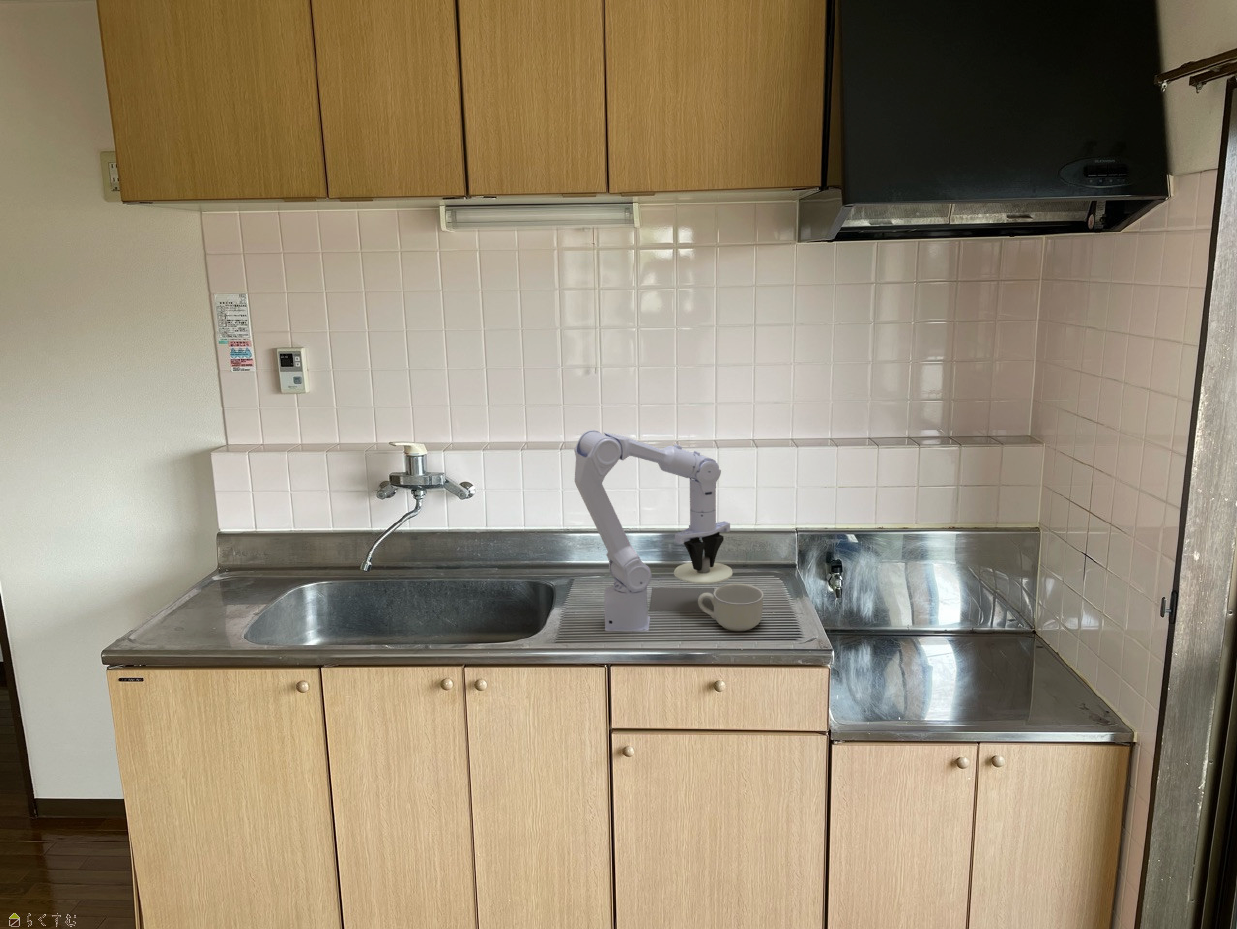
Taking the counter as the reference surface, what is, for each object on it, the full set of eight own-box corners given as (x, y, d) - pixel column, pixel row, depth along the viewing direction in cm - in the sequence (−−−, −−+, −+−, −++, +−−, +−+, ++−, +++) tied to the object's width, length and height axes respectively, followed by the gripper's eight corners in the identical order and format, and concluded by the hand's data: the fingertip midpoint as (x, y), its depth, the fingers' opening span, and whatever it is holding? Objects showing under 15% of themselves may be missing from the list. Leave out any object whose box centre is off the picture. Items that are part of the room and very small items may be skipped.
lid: (674, 584, 200) (673, 568, 199) (674, 564, 213) (674, 549, 212) (733, 583, 199) (734, 568, 198) (730, 564, 212) (730, 549, 211)
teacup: (766, 619, 202) (766, 585, 201) (759, 639, 192) (759, 603, 191) (704, 614, 206) (704, 580, 205) (694, 633, 196) (693, 597, 195)
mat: (649, 612, 208) (649, 610, 208) (652, 589, 223) (652, 587, 223) (715, 612, 207) (715, 611, 207) (714, 589, 222) (714, 587, 221)
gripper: (715, 500, 210) (715, 556, 213) (665, 511, 202) (667, 570, 205) (736, 506, 204) (736, 564, 207) (686, 518, 196) (687, 578, 199)
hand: (703, 567), depth 206 cm, fingers closed on lid, 3 cm apart
